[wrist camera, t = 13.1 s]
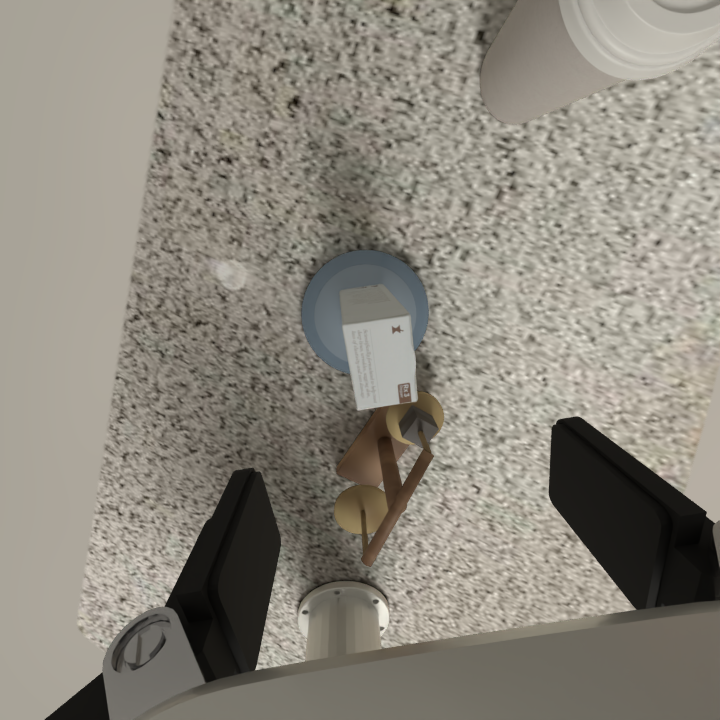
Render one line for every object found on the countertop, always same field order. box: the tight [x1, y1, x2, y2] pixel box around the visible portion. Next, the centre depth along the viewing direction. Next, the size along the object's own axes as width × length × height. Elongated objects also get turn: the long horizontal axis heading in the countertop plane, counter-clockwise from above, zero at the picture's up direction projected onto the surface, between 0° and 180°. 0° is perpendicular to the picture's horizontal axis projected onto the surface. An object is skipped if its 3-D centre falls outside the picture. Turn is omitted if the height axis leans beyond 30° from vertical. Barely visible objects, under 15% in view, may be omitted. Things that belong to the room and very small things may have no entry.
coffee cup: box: [480, 0, 720, 124], centre depth 20 cm, size 10×10×15 cm
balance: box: [334, 391, 444, 567], centre depth 32 cm, size 16×6×12 cm, turn 149°
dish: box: [302, 250, 429, 374], centre depth 32 cm, size 12×12×1 cm
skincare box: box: [339, 284, 418, 411], centre depth 26 cm, size 6×4×12 cm
